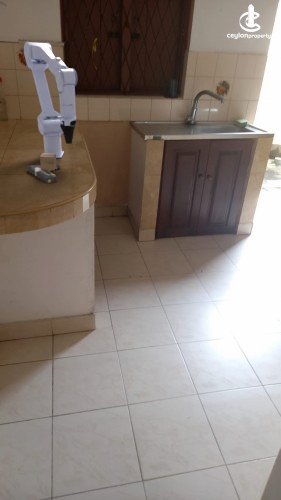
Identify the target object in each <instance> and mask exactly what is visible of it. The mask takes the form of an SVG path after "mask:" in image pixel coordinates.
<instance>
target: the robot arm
mask: <svg viewBox="0 0 281 500" xmlns="http://www.w3.org/2000/svg"><path fill="white" fill-rule="evenodd" d="M23 55H24V58H25V62H26V63H25V64H26V65H27V68H29V69H30V70H31V73H32V77H33V80H34V84H35V88H36V92H37V96H38V101H39V105H40V108H41V112H40V113H39V115H38V116H37V118H36V120H37V127H38V131H39V133H40V134H41V136H42V137H43V147H44V148H43V149H44V153H56V159H62V158H63V156H64V153H65V151H64V150H63V149H62V148H63V147H62V137H61V136H62V135H63V137H64V142H65V144H69V145H71V144H72V143H73V139H74V133H75V128H76V124H77V115H76V114H77V113H76V112H77V111H76V91H75V90H76V89H75V87H76V86H77V84H78V73H77V71H76V70H75V68H73V67H72V68H69V67H68V66H67V65H66V64H65V62H64V61H63V60H62V59H61V57H56V56H55V55H54V53H53V49H52V45H51V44H50V43H49V42H34V41H33V42H31V41H30V42H29V41H25V42H24V45H23ZM46 69H48V70H49V71H50V72H51V74H52V75H53V76H54V78H55V83H56V85H57V91H58V92H59V95H58V96H59V109H60V112H58V111H56V110H55V109H54V105H53V100H52V97H51V93H50V89H49V84H48V80H47V77H46V72H45V71H46Z"/></svg>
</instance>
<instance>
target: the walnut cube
mask: <svg viewBox="0 0 281 500" xmlns="http://www.w3.org/2000/svg"><path fill="white" fill-rule="evenodd" d="M39 163H40V165H41V170H52V171H55V169H56V167H57V163H58V161H57V158H56V153H45V152H42V153H41V155H39ZM56 170H57V169H56Z"/></svg>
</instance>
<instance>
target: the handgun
mask: <svg viewBox="0 0 281 500" xmlns="http://www.w3.org/2000/svg"><path fill="white" fill-rule="evenodd" d="M26 168H27V172H28V171H29V173H30V174H31V173H32V174H31V175H33V174H34V175H35V177H36V176H37V177H36V178H38V179H39V178H40V179H39V180H41V181H42V182H44V183H46V184H50V183H56V182H57V177H56V174H55V173H53V172H52V171H53V170H41V164H40V165H35V164H31V165H28V166H26ZM60 169H61V165H60V163H59V162H57V167H56V170H60ZM34 175H33V176H34Z"/></svg>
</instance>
